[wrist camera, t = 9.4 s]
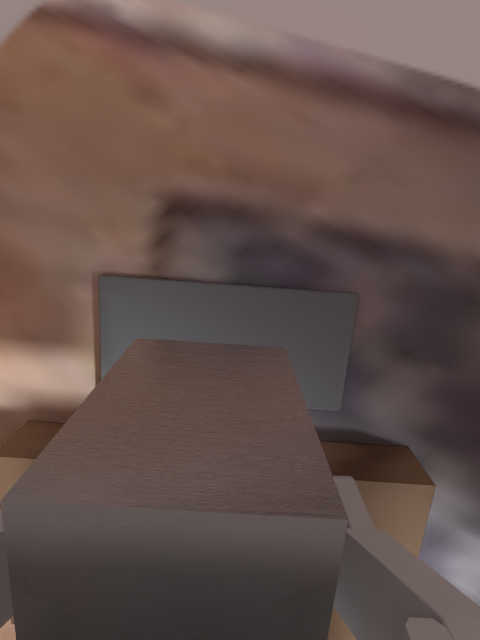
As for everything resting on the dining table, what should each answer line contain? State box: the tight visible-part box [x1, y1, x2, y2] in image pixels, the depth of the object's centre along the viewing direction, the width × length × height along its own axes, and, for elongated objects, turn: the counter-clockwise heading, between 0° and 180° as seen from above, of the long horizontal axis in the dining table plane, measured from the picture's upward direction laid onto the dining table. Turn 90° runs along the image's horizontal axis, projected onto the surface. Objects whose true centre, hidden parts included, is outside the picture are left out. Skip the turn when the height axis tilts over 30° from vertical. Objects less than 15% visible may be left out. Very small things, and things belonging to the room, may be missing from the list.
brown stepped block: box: [0, 421, 436, 640], centre depth 18 cm, size 20×10×7 cm, turn 86°
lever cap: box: [1, 338, 348, 640], centre depth 8 cm, size 4×6×6 cm, turn 176°
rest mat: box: [99, 275, 359, 412], centre depth 18 cm, size 12×6×1 cm, turn 86°
